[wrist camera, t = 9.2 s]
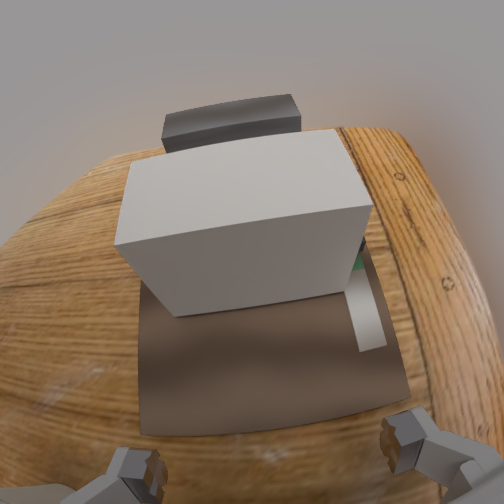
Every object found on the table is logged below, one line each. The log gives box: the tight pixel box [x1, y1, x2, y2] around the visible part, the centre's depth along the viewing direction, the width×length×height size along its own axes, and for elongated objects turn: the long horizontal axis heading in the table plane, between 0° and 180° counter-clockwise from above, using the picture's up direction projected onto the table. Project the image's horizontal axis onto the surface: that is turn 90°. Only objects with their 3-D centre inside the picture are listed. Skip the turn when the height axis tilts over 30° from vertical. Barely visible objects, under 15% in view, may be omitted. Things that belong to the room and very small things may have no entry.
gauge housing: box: [114, 129, 373, 317], centre depth 19 cm, size 8×14×9 cm, turn 97°
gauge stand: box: [138, 94, 411, 436], centre depth 20 cm, size 22×18×10 cm
